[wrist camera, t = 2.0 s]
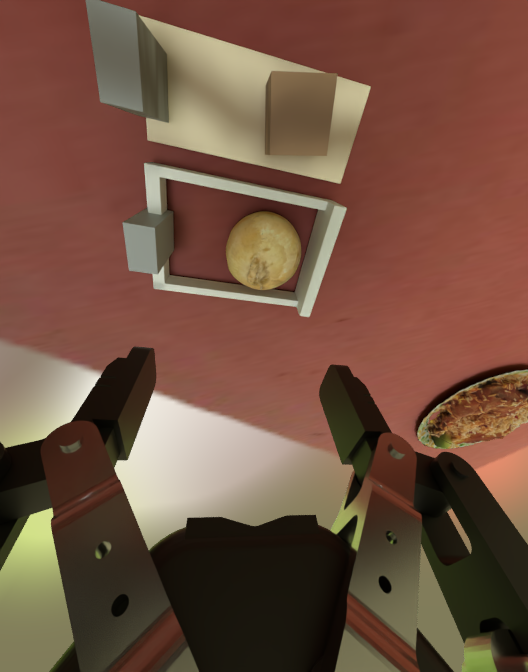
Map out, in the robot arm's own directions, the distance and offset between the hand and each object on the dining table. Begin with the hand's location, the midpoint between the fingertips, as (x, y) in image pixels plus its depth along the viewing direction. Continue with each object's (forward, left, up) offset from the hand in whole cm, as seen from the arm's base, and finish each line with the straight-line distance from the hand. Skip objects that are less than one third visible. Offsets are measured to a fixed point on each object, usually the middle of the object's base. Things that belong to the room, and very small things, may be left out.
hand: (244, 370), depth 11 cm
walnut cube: (-11, +3, -20) cm, 23 cm away
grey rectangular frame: (0, 0, -21) cm, 21 cm away
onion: (0, +2, -21) cm, 21 cm away
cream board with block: (-11, 0, -21) cm, 24 cm away
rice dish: (+27, +55, -22) cm, 65 cm away
